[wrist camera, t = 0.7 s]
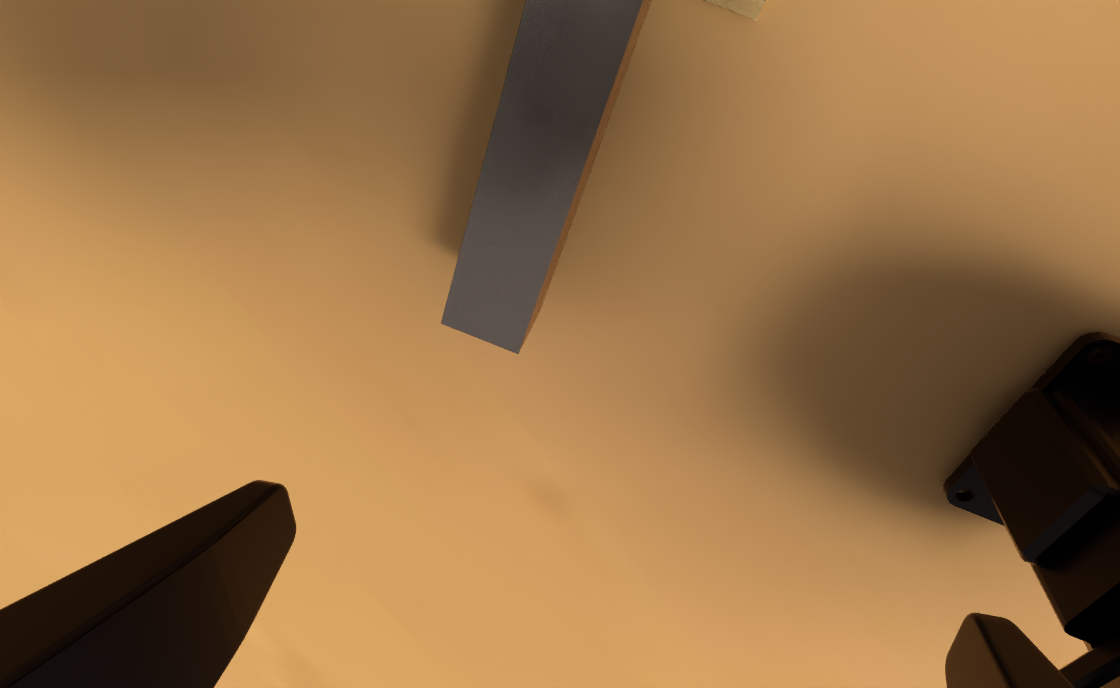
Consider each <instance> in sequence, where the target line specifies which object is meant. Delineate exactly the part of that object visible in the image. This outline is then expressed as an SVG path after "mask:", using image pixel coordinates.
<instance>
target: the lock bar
mask: <svg viewBox="0 0 1120 688" xmlns="http://www.w3.org/2000/svg"><path fill="white" fill-rule="evenodd" d="M650 3H651V0H526V3H525V7H524V11H523V14H522V18H521V22H520V26H519V30H518V33H517V37H516V41H515V45H514V48H513V52H512V56H511V60H510V64H509V67H508V71H507V75H506V79H505V83H504V86H503V90H502V94H501V98H500V102H499V105H498V109H497V113H496V117H495V121H494V124H493V128H492V132H491V136H490V139H489V143H488V147H487V151H486V155H485V158H484V162H483V166H482V170H481V174H480V177H479V181H478V185H477V189H476V193H475V196H474V200H473V204H472V208H471V211H470V215H469V219H468V223H467V227H466V230H465V234H464V238H463V242H462V246H461V249H460V253H459V257H458V261H457V265H456V268H455V272H454V276H453V280H452V284H451V287H450V291H449V295H448V299H447V302H446V306H445V310H444V314H443V318H442V321H441V324H444V325H446V326H449V327H451V328H454V329H456V330H459V331H461V332H464V333H466V334H469V335H471V336H474V337H477V338H479V339H482V340H484V341H487V342H489V343H492V344H494V345H497V346H499V347H502V348H504V349H507V350H509V351H512V352H514V353H517V354H518V353H519V351H520V350H521V348H522V346H523V344H524V342H525V340H526V338H527V336H528V334H529V332H530V330H531V328H532V326H533V324H534V322H535V320H536V318H537V316H538V314H539V312H540V309H541V306H542V304H543V301H544V298H545V295H546V292H547V290H548V287H549V284H550V281H551V279H552V276H553V273H554V270H555V267H556V265H557V262H558V259H559V256H560V254H561V251H562V248H563V245H564V242H565V240H566V237H567V234H568V231H569V228H570V226H571V223H572V220H573V217H574V215H575V212H576V209H577V206H578V203H579V201H580V198H581V195H582V192H583V190H584V187H585V184H586V181H587V178H588V176H589V173H590V170H591V167H592V164H593V162H594V159H595V156H596V153H597V151H598V148H599V145H600V142H601V139H602V137H603V134H604V131H605V128H606V126H607V123H608V120H609V117H610V114H611V112H612V109H613V106H614V103H615V100H616V98H617V95H618V92H619V89H620V87H621V84H622V81H623V78H624V75H625V73H626V70H627V67H628V64H629V62H630V59H631V56H632V53H633V50H634V48H635V45H636V42H637V39H638V36H639V34H640V31H641V28H642V25H643V23H644V20H645V17H646V14H647V11H648V9H649V6H650Z"/></svg>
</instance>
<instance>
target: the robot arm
mask: <svg viewBox="0 0 1120 688" xmlns="http://www.w3.org/2000/svg"><path fill="white" fill-rule="evenodd" d="M1097 348H1103V349H1102V351H1101V352H1100V353H1099V354H1097V355H1095V356H1091V357H1089V356H1088V355H1089V353H1090V352H1091V351H1093V350H1094V349H1097ZM962 489H969V490H967V491H966V492H962V493H959V492H958V491H960V490H962ZM943 490H944V492H945V495H946V497H947V499H948V501H949V502H950V503H951V504H952V505H954V506H956V507H959V508H961V509H964V510H966V511H969V512H971V513H974V514H976V515H979V516H981V517H984V518H986V519H989V520H991V521H994V522H996V523H999V524H1001V525H1004V526H1005V527H1006V529H1007V531H1008V533H1009V535H1010V537H1011V539H1012V541H1013V543H1014V545H1015V547H1016V549H1017V551H1018V553H1019V555H1020V557H1021V558H1022V559H1023V560H1024V561H1025V562H1028V563H1030V564H1031V566H1032V568H1033V570H1034V572H1035V574H1036V576H1037V578H1038V580H1039V582H1040V584H1041V586H1042V588H1043V590H1044V592H1045V594H1046V596H1047V598H1048V600H1049V602H1050V604H1051V606H1052V608H1053V610H1054V612H1055V614H1056V616H1057V618H1058V619H1059V621H1060V623H1061V625H1062V627H1063V629H1064V631H1065V632H1066V633H1067V634H1069V635H1070V636H1073V637H1075V638H1078V639H1080V640H1083V641H1084V643H1085V645H1086V647H1087V649H1088V652H1087V653H1085V654H1083V655H1082V656H1080V657H1079V658H1077V659H1076V660H1074V661H1072V662H1071V663H1069V664H1068V665H1066V666H1064V667H1063V668H1061V669H1060V670H1058V669H1057V668H1056V667H1055V666H1054V665H1053V664H1052V663H1051V662H1050V661H1049V660H1048V659H1047V657H1046V656H1045V655H1044V654H1043V653H1042V652H1041V651H1040V650H1039V649H1038V648H1037V647H1036V646H1035V645H1034V644H1033V643H1032V642H1031V641H1030V640H1029V639H1028V638H1027V636H1026V635H1025V634H1024V633H1023V632H1022V631H1021V630H1020V629H1019V628H1018V627H1017V626H1016V625H1015V624H1014V623H1012V622H1011V621H1010V620H1008V619H1005V618H1002V617H996V616H991V615H986V614H980V613H971V614H969V615H967V616H966V618H965V619H964V621H963V623H962V625H961V627H960V629H959V631H958V633H957V635H956V637H955V639H954V641H953V643H952V646H951V648H950V650H949V652H948V654H947V658H946V664H945V675H946V683H947V688H1120V339H1119V338H1116V337H1114V336H1111V335H1108V334H1106V333H1101V332H1093V333H1088V334H1085V335H1083V336H1081V337H1079V338H1078V339H1077V340H1076V341H1074V342H1073V343H1072V345H1071V346H1070V347H1069V348H1068V349H1067V350H1066V351H1065V352H1064V353H1063V354H1062V355H1061V356H1060V358H1059V359H1058V360H1057V361H1056V362H1055V363H1054V364H1053V365H1052V366H1051V367H1050V368H1049V369H1048V371H1047V372H1046V373H1045V374H1044V375H1043V376H1042V377H1041V378H1040V379H1039V380H1038V381H1037V382H1036V384H1035V385H1034V386H1033V387H1032V388H1031V389H1030V390H1029V391H1028V392H1026V393H1024V394H1023V395H1022V396H1021V398H1020V399H1019V400H1018V401H1017V402H1016V403H1015V404H1014V405H1013V406H1012V407H1011V408H1010V410H1009V411H1008V412H1007V413H1006V414H1005V415H1004V416H1003V417H1002V418H1001V419H1000V420H999V421H998V423H997V424H996V425H995V426H994V427H993V428H992V429H991V430H990V431H989V432H988V433H987V435H986V436H985V437H984V438H983V439H982V440H981V441H980V442H979V443H978V444H977V445H976V447H975V448H974V449H973V450H972V451H971V454H970V455H969V456H968V457H967V458H966V459H965V461H964V462H963V463H962V464H961V465H960V466H959V467H958V468H957V469H956V470H955V471H954V472H953V474H952V475H951V476H950V477H949V478H948V479H947V480H946V482H945V483H944V485H943ZM295 534H296V522H295V518H294V514H293V511H292V507H291V503H290V499H289V495H288V492H287V489H286V488H285V487H284V486H283V485H282V484H279V483H274V482H268V481H263V480H256V481H253V482H251V483H248V484H246V485H245V486H243V487H241V488H239V489H237V490H235V491H233V492H231V493H229V494H227V495H225V496H223V497H221V498H219V499H217V500H215V501H213V502H211V503H209V504H207V505H205V506H203V507H201V508H199V509H197V510H195V511H193V512H191V513H189V514H187V515H185V516H184V517H182V518H180V519H178V520H176V521H174V522H172V523H170V524H168V525H166V526H164V527H162V528H160V529H158V530H156V531H154V532H152V533H150V534H148V535H146V536H144V537H142V538H140V539H138V540H136V541H134V542H132V543H130V544H128V545H126V546H124V547H123V548H121V549H119V550H117V551H115V552H113V553H111V554H109V555H107V556H105V557H103V558H101V559H99V560H97V561H95V562H93V563H91V564H89V565H87V566H85V567H83V568H81V569H79V570H77V571H75V572H73V573H71V574H69V575H67V576H65V577H63V578H61V579H60V580H58V581H56V582H54V583H52V584H50V585H48V586H46V587H44V588H42V589H40V590H38V591H36V592H34V593H32V594H30V595H28V596H26V597H24V598H22V599H20V600H18V601H16V602H14V603H12V604H10V605H8V606H6V607H4V608H2V609H0V688H214V687H215V685H216V683H217V682H218V680H219V679H220V677H221V675H222V674H223V672H224V671H225V669H226V667H227V666H228V664H229V663H230V661H231V659H232V658H233V656H234V655H235V653H236V651H237V650H238V648H239V646H240V645H241V643H242V641H243V640H244V638H245V636H246V634H247V632H248V630H249V629H250V627H251V625H252V623H253V621H254V619H255V617H256V615H257V613H258V611H259V609H260V607H261V605H262V603H263V601H264V599H265V597H266V595H267V593H268V591H269V589H270V587H271V585H272V583H273V581H274V579H275V577H276V575H277V573H278V571H279V569H280V567H281V565H282V563H283V561H284V559H285V557H286V555H287V553H288V551H289V549H290V547H291V545H292V543H293V541H294V538H295Z"/></svg>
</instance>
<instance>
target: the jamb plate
mask: <svg viewBox="0 0 1120 688" xmlns="http://www.w3.org/2000/svg"><path fill="white" fill-rule="evenodd" d="M705 1H707V2H710V3H712V4H715V5H718V6H720V7H723V8H725V9H728V10H730V11H733V12H735V13H738V14H740V15H743V16H746V17H748V18H751V19H753V20H757V18H758V16H759V14H760V11H761V9H762V7H763V5H764V2H765V0H705Z"/></svg>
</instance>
